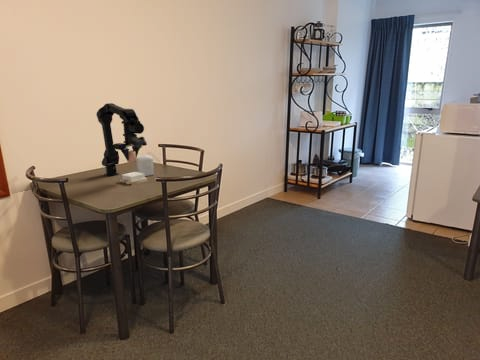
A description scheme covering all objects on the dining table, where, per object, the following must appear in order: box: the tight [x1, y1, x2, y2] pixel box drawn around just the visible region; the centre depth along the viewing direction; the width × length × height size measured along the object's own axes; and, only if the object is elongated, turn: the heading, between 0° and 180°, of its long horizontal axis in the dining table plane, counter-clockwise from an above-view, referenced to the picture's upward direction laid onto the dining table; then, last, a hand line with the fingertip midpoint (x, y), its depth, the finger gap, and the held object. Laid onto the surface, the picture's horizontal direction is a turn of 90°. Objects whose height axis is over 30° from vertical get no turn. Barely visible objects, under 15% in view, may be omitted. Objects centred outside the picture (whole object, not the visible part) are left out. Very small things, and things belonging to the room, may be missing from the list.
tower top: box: [121, 171, 146, 181], centre depth 208 cm, size 9×9×2 cm
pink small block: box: [126, 150, 137, 164], centre depth 205 cm, size 5×5×6 cm
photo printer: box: [135, 155, 155, 177], centre depth 220 cm, size 10×4×12 cm, turn 123°
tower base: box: [119, 176, 149, 186], centre depth 209 cm, size 11×11×2 cm
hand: (131, 159), depth 205 cm, fingers closed on pink small block, 5 cm apart
